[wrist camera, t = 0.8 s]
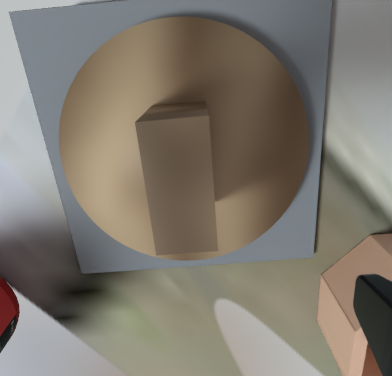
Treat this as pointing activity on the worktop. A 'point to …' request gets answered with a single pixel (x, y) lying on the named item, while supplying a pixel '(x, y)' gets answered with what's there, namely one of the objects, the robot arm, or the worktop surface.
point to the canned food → (7, 313)
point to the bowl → (343, 304)
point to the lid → (183, 138)
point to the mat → (156, 9)
